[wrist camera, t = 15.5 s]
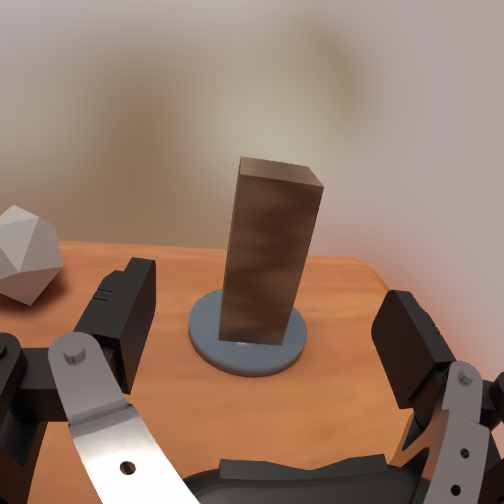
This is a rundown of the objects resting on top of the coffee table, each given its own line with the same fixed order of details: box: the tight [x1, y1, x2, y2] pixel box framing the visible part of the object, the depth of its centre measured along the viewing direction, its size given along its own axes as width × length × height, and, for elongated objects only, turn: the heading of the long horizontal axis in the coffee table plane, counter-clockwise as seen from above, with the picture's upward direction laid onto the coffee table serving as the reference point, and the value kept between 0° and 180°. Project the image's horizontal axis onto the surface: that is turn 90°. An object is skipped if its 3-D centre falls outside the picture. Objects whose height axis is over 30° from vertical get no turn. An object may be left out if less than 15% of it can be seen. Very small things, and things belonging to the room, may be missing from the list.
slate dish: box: [189, 289, 307, 377], centre depth 27 cm, size 10×10×1 cm
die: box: [0, 205, 64, 306], centre depth 24 cm, size 8×9×10 cm
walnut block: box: [218, 157, 324, 346], centre depth 24 cm, size 5×5×13 cm
